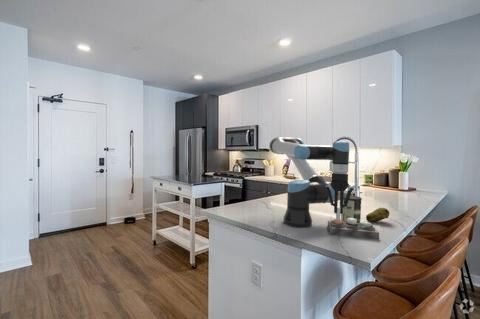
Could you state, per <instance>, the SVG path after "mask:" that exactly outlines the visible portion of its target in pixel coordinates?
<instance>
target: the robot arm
mask: <svg viewBox="0 0 480 319" xmlns="http://www.w3.org/2000/svg"><path fill="white" fill-rule="evenodd" d="M269 149H270V151H271V152H272V153H273V154H276V155H285V156H287V158H288V159H289V160H292V162H293V164H294V166H295V168H296V169H297V171H298V172H299V174H300V176H301V179H296V180H291V181H289V182H288V185H287V199H286V200H287V201H286V202H287V203H286V210H285V213H284V216H283V222H282V223H284V225H286V226H289V227H292V228H299V229H300V228H303V229H304V228H310V227H312V225H313V220H312V216H311V213H310V212H311V211H310V204H315V205H316V204H326V203H329V204H330V206H332V207H333V208H334V209H333V213H334V214H335V215H336V216H335V219H336V220H337V221H340V220H341V214H342V213H343V207H346V206H347V204H348V201H349V198H350V196H352V195H351V194H352V192H353V191H354V189H355V188H354V187H352V186H350V185H349V163H350V162H349V161H350V143H349V142H348V141H334V142H332V145H312V144H311V145H310V144H305V143H304V141H303V139H301V138H299V137H293V136H292V137H285V136H283V137H282V136H279V137H275V138H272V139H271V141H270V142H269ZM310 160H314V161H315V160H317V161H318V160H319V161H332V162H331V182H330V181H326V180H325V178H324V177H323V176H322V175H319V174H318V173H317V171H316V170H315V169H314V167H313V165H312V163H311V162H310ZM346 190H347V192H346V194H345V195H346V198H345V201H344V204H343V196H345V195H344V193H345V191H346ZM338 197H339V200H338ZM338 202H339V203H338ZM338 204H339V205H338Z"/></svg>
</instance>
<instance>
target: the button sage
mask: <svg viewBox="0 0 480 319" xmlns="http://www.w3.org/2000/svg"><path fill="white" fill-rule="evenodd" d="M361 223H362V224H361V226H364V227H371V224H372V222H369V221H361Z"/></svg>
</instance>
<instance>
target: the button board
mask: <svg viewBox="0 0 480 319" xmlns="http://www.w3.org/2000/svg"><path fill="white" fill-rule="evenodd" d="M361 224H362V222H360V223H357V224H349V223H347V222H343V221H342V224H333V220H327V228H328V231H329V234H330V235H333V236H334V235H335V236H336V235H337V236H343V237H344V236H345V237H356V238H362V239H363V238H366V239H374V240H380V232H379V231H378V229H377V228H376V227H375V226H374V225H373V224H372V223H371V227H364V226H361Z"/></svg>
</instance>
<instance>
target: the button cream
mask: <svg viewBox="0 0 480 319" xmlns="http://www.w3.org/2000/svg"><path fill="white" fill-rule="evenodd" d="M347 223H349V224H357V219H355V218H347Z"/></svg>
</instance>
